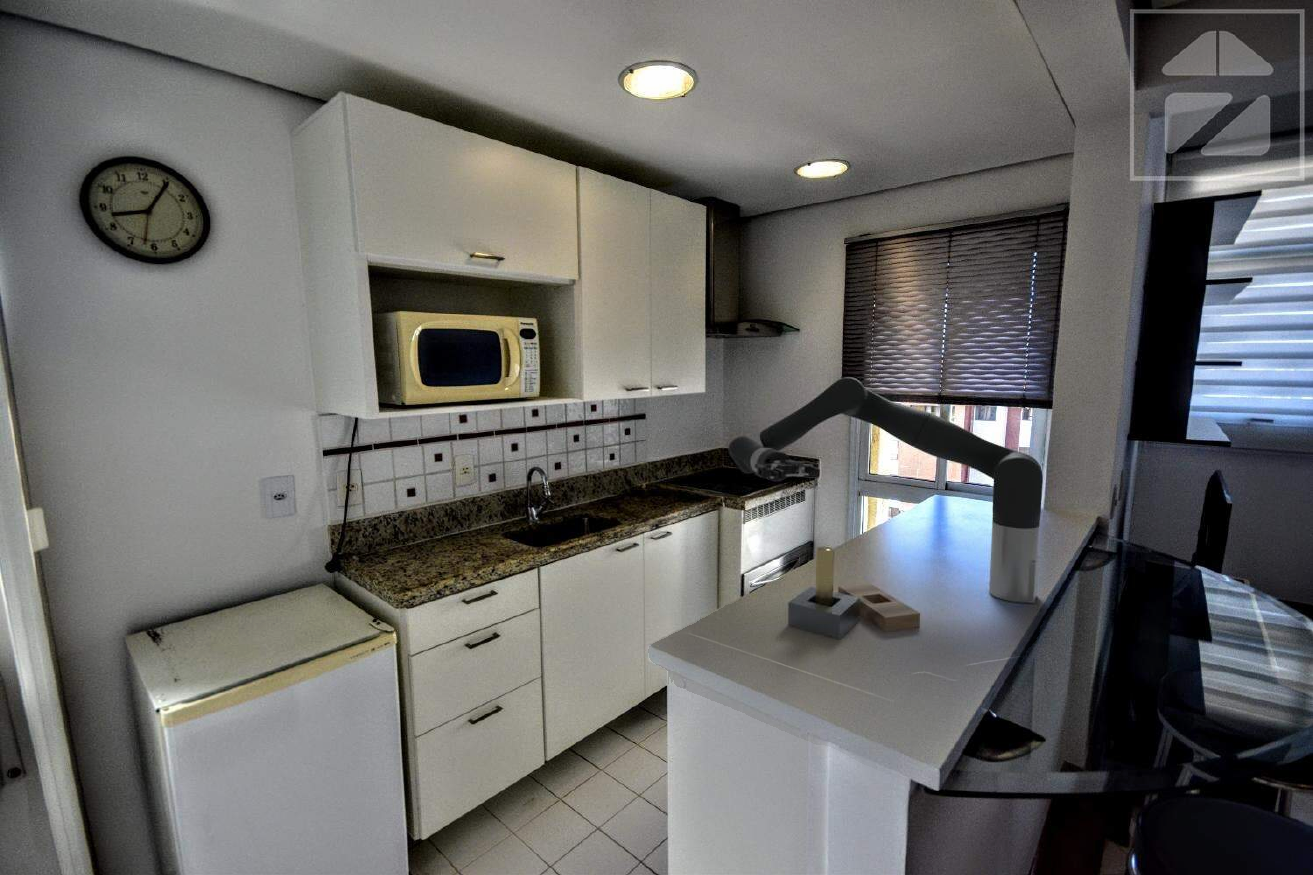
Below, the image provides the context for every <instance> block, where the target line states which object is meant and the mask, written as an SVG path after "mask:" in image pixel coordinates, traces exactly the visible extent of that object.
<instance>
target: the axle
mask: <svg viewBox="0 0 1313 875" xmlns="http://www.w3.org/2000/svg"><path fill="white" fill-rule="evenodd" d="M815 555H816V557H815V559H816V560H815V562H816V563H815V565H816V566H815V588H816V595H815V603H816V604H820V605H824V606H828V607H833V592H834V587H835V586H834V584H835V583H834V582H835V581H834V580H835V549H834V548H833V547H830V546H818V547H816V554H815Z"/></svg>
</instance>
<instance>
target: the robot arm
mask: <svg viewBox="0 0 1313 875" xmlns="http://www.w3.org/2000/svg"><path fill="white" fill-rule="evenodd" d="M839 415H845V416H847V417H848V416H849V417H851V418H854V419H856V420H859V421H862V422H865V423H869V424H871V425H873V426H875V427H878V428H880V429H881V430H882V431H885V432H886V433H887V434H889V435H891V436H893V437H894V438H896V439H897V440H899V441H901V442H903V443H904V444H907V445H909V446H911V447H913V448H915V449H916V450H918V451H921V452H922V453H923V452H924V453H925V454H927V455H930V456H932V457H936V458H938V459H942V460H945V461H949V462H953V463H957V464H959V465H964V466H967V467H969V468H972V469H974V470H976V471H978V472H980V473H981V474H984V475H986V476H987V477H989V478H991V479H992V480H993V486H992V488H993V489H992V492H993V493H992V522H991V523H992V524H991V540H990V541H991V544H990V563H989V564H990V566H989V568H990V569H989V582H988V583H989V584H988V585H989V587H988V588H989V589H988V592H989V594H990V595H992V596H994V597H995V598H998V599H1001V600H1004V601H1007V602H1012V603H1013V602H1014V603H1029V604H1035V601H1036V598H1037V595H1038V580H1039V578H1038V577H1039V561H1040V556H1039V544H1040V543H1039V539H1040V538H1039V537H1040V524H1041V523H1040V522H1041V514H1042V496H1043V478H1044V477H1043V470H1042V467H1041V465H1040V463H1039V461H1037V459H1035V458H1034V457H1033V456H1031V455H1029V454H1028V453H1024V452H1020V451H1018V450H1014V449H1011V448H1008V447H1005V446H1002V445H999V444H997V443H993V442H990V441H989V440H986V439H984V438H982V437H980V436H977V435H976V434H974V433H972V432H971V431H969V430H966V429H965V428H963V427H961V426H960V425H957V424H955V423H953V422H951V421H949V420H947V419H945V418H943V417H940V416H938V415H936V414H933V413H931V412H929V411H926V410H923V409H921V408H918V407H913V406H910V405H906V404H902V403H898V402H894V401H891V400H889V399H887V398H885V397H883V396H881V395H879V394H877V393H875V392H873V391H872V390H870V389H869V388H867V387H866V386H864V385H863V383H862V382H861V381H860V380H858V379H857V378H854V377H848V376H847V377H842V378H839V379H837V380H836V381H835V382H833V383H832V384H831V385H829V386H828V387H827V388H826V389H825V390H824V391H822V392H821V393H820V394H818V395H817V396H816V397H814V398H813V399H812V400H810V401H809V402H808V403H806V404H805V405H804V406H802V407H800V408H798V409H797V410H796V411H794V412H792V413H791V414H789V415H787V416H785V417H783V418H782V419H780V420H778V421H776V422H775V423H773V424H772V425H770V426H768V427H767V428H765V429H763V430H762V431H760V432H759V441H760V443H761V444H759V443H758V442H757V441H755V440H754V439H752V438H751V437H749V436H744V435H743V436H738V437H736V438H734V439H733V440H732V441H730V443H729V445H728V453H729V456H730V457H731V458H732V459H733V461H734V462H735V463H736V465H737V467H738V468H739V469H740V471H741V472H742V473H744V474H753V473H754V475H756V476H757V477H759V478H761V479H767V480H770V481H771V482H781V481H784V480H785V479H786V478H788V477H804V476H809V477H812V478H815V479H818V478H820V475H821V472H820V471H821V470H820V468H819V463H816V462H812V461H807V460H802V461H798V460H794V459H791V458H790V456H789V455H788V454H787V453H786V452H784V451H782V450H783V449H784V448H787V447H789V446H790V445H792V444H793V443H795V442H797V441H798V440H799V439H802V437H804V436H805V435H806V434H807V433H809V432H810V431H812V429H814V428H815V427H816V426H818V425H820V424H821V423H823V422H825V421H827V420H828V419H829V420H830V419H831V418H833V417H836V416H839ZM761 445H762V446H761Z"/></svg>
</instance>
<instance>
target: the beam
mask: <svg viewBox="0 0 1313 875" xmlns="http://www.w3.org/2000/svg"><path fill="white" fill-rule="evenodd" d="M837 588H838V590H837V591H838V592H837V593H841V594H845V595H849V596H854V597H858V598H860V599H859V615H861V616H862V617H864V618H865V619H867V620H868V621H869V622H871V623H872V624H874V625H875V626H876V627H878V628H879V629H880V630H882V631H883V632H885V633H886V632H895V631H901V630H909V629H915V628H920V626H921V624H920V623H921V613H920V612H919V611H917V610H916V609H914V608H912V607H910V606H909V605H908V604H905V603H904V602H902V601H901V600H899V599H898V598H895V597H894V596H892V595H891V594H889V593H887V592H886V591H884V590H883V589H881V588H879V587H878V586H875V585H874V584H872V583H871V582H861V583H860V582H859V583H852V584H844V585H843V584H842V585H838V587H837Z"/></svg>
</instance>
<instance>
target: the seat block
mask: <svg viewBox="0 0 1313 875" xmlns="http://www.w3.org/2000/svg"><path fill="white" fill-rule="evenodd" d="M815 595H816V586H809V587H808V588H806V589H804V591H802V592H800V593H799V594H798V595H796V596H795V597H794V598H792V599H791V600H790V601H789V602H787V604H788V607H787V608H788V610H787V611H788V612H787V615H788V616H787V619H788V622H787V626H789V627H793V628H797V629H801V630H804V631H807V632H811V633H814V634H817V635H822V636H825V637H829V638H832V639H834V640H838V641H839V640H842V638H843V637H844V636H845V635H846V634H847V633H848V632H849V631H850V630H851V629H852V628H853V627H854V626H855V625H856V624H857V623H858V622H859V621H860V613H859V599H860V598H858V597H854V596H849V595H845V594H841V593H838V592H835V591H833V607H828V606H824V605H820V604H816V603H815Z"/></svg>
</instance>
